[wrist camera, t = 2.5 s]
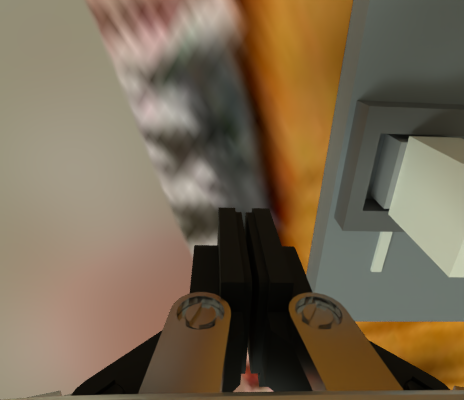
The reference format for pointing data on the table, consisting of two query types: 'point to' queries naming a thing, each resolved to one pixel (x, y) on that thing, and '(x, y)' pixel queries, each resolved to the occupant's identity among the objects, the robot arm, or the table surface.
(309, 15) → the table surface
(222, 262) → the robot arm
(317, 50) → the table surface
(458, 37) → the console
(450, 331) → the table surface
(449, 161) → the fader
